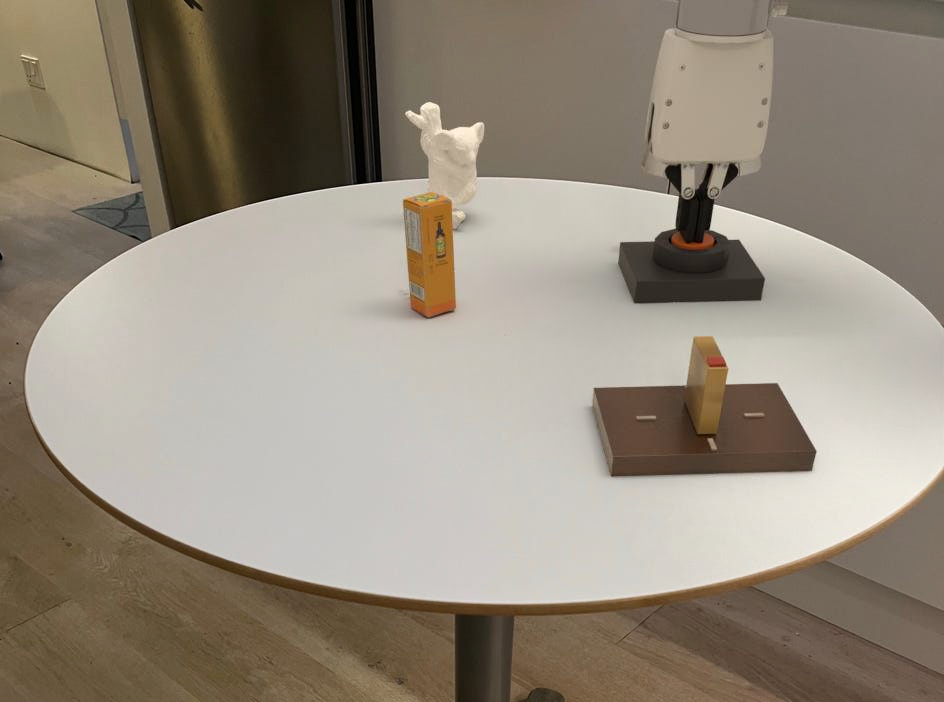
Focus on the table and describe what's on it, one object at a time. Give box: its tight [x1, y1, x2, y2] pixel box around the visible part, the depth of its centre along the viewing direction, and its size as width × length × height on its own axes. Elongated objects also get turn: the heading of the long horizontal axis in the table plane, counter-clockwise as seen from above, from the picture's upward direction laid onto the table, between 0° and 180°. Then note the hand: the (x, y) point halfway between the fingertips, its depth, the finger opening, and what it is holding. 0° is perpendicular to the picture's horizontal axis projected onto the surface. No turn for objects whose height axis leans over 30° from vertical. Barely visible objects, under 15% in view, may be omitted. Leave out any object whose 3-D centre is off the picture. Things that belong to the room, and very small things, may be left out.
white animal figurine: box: [404, 101, 486, 230], centre depth 108 cm, size 8×7×12 cm
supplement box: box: [402, 192, 457, 318], centre depth 91 cm, size 3×3×10 cm
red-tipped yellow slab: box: [684, 335, 729, 434], centre depth 71 cm, size 5×1×5 cm, turn 1°
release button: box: [671, 232, 714, 250], centre depth 97 cm, size 4×4×2 cm
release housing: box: [617, 227, 766, 305], centre depth 97 cm, size 12×10×4 cm
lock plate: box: [591, 382, 818, 478], centre depth 74 cm, size 14×10×3 cm
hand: (690, 237), depth 96 cm, fingers closed
